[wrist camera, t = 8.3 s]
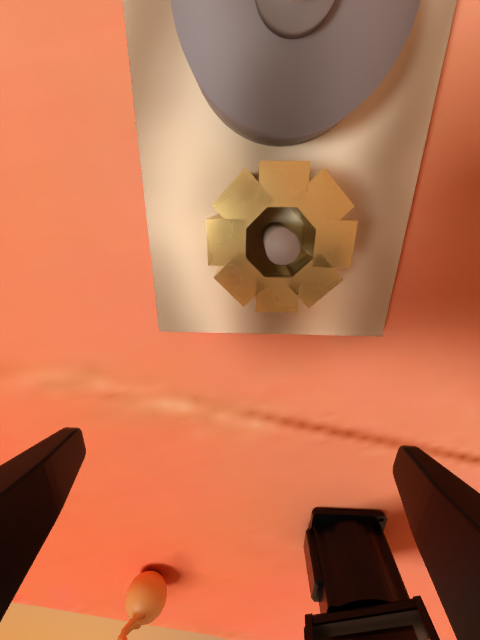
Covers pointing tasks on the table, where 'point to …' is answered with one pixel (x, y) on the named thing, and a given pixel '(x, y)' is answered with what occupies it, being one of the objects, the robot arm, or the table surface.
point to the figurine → (144, 601)
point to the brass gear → (316, 242)
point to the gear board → (222, 157)
